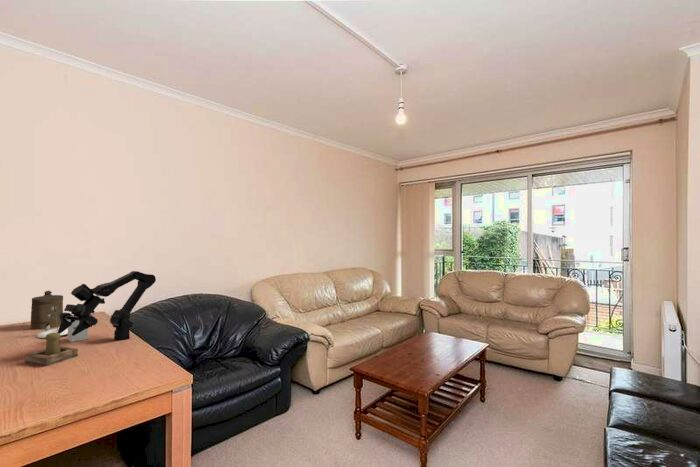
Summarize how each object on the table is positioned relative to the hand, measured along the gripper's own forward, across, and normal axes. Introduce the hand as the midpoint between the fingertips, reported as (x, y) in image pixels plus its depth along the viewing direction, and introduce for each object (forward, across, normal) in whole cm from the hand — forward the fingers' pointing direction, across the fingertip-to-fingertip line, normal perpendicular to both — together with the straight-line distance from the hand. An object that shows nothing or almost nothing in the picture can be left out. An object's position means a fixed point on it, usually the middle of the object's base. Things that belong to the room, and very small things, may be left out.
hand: (65, 334), depth 158 cm
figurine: (-10, -40, +25) cm, 48 cm away
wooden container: (-17, -64, +32) cm, 74 cm away
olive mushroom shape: (+10, 0, +3) cm, 10 cm away
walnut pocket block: (+11, 0, +3) cm, 11 cm away
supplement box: (-7, -19, +21) cm, 30 cm away
